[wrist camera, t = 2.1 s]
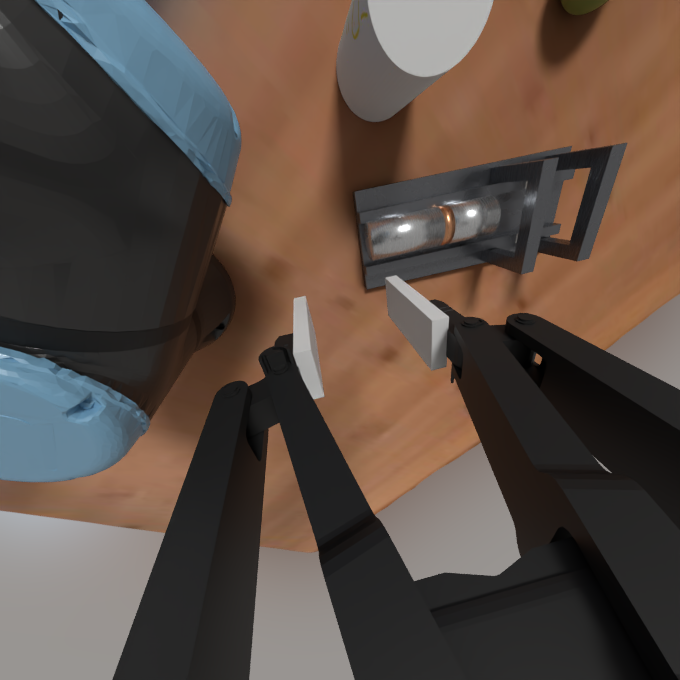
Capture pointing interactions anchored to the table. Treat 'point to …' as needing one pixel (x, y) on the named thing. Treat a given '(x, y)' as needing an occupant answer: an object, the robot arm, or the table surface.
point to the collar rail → (516, 212)
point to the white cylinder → (402, 49)
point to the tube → (431, 227)
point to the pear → (581, 6)
